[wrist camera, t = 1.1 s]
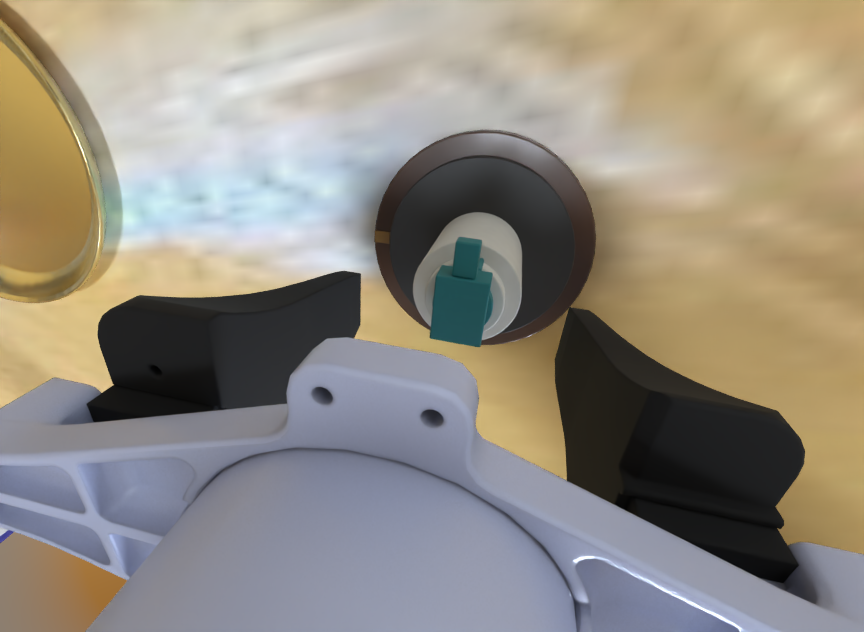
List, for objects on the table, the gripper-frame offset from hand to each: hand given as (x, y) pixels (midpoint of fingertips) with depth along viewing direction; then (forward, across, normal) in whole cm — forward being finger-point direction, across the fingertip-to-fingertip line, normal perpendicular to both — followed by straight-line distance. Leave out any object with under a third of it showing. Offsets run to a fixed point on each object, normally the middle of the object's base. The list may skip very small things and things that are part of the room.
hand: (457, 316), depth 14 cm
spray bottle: (+7, 0, 0) cm, 7 cm away
